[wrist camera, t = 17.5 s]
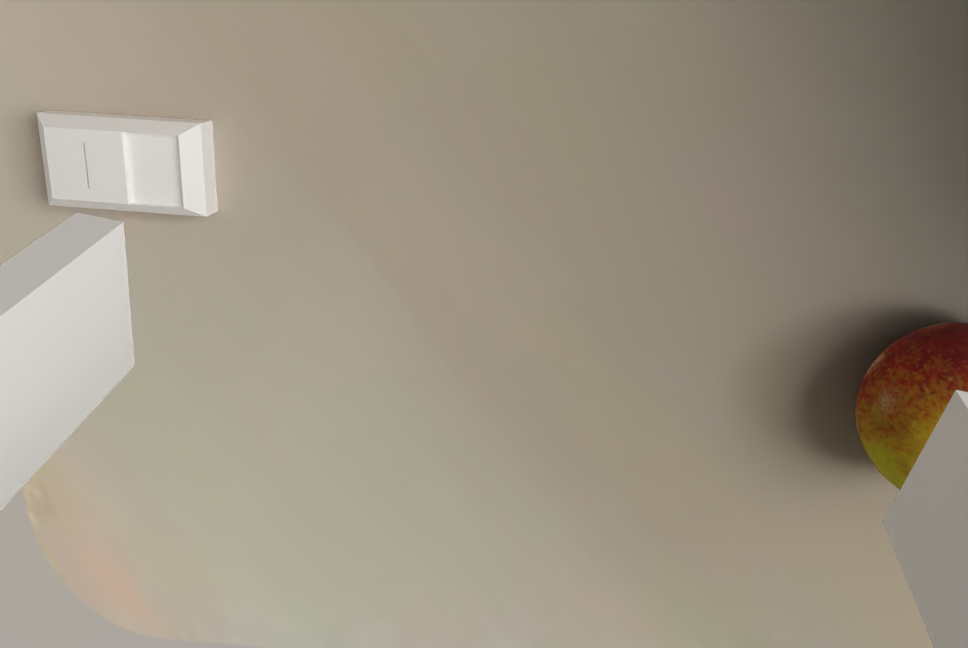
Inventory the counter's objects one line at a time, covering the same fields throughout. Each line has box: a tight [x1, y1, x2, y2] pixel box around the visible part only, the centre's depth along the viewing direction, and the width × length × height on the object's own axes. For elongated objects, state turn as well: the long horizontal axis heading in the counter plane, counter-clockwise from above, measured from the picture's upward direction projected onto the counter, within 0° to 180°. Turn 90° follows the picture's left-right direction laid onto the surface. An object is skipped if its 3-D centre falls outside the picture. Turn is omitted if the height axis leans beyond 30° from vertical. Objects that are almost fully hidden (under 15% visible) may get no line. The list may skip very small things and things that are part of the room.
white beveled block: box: [37, 110, 218, 217], centre depth 44 cm, size 5×9×3 cm, turn 88°
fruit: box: [855, 322, 968, 489], centre depth 41 cm, size 10×9×8 cm
